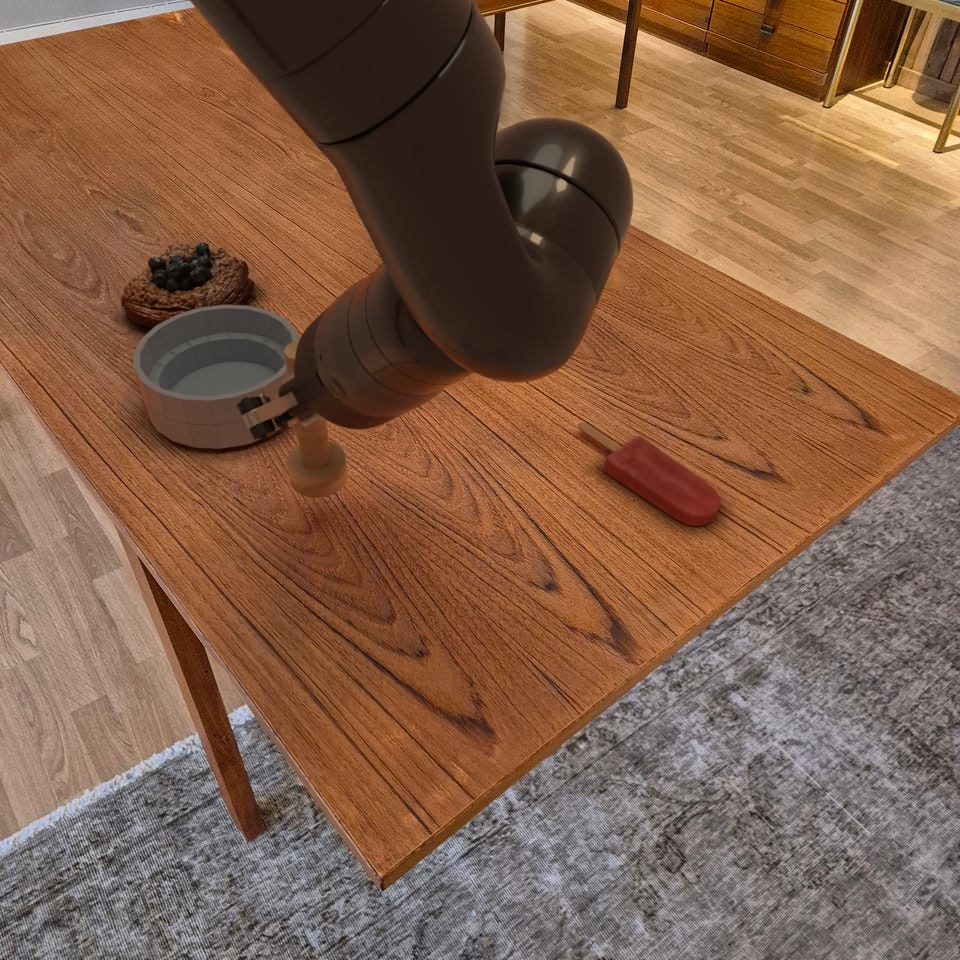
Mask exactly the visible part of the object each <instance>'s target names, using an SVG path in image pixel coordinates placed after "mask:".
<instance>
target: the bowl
mask: <svg viewBox="0 0 960 960" xmlns="http://www.w3.org/2000/svg"><path fill="white" fill-rule="evenodd" d="M295 341H300V339H299V335H298V331H297V330H296V328H294V326H292V324H291V323H290V322H289V321H288V320H287V318H284V317H283V316H280V315H279V314H277V313H275V312H274V311H271V310H268V309H264V308H260V307H256V306H252V305H247V306H245V305H217V306H209V307H202V308H197V309H194V310H191V311H187V312H184V313H181V314H177V315H175V316H173V317H171V318H169V319H168V320H166V321H164V322H162V323H160V324H158V325H157V326H155V327H154V328H153V329H152V330H151V331H149V332H148V333H147V332H146V334H145V335H144V336H142V337H141V339H140V340H139V342H138V344H137V346H136V348H135V350H134V351H133V354H132V355H133V356H132V357H133V358H132V363H133V364H132V368H133V372H134V375H135V379H136V382H137V385H138V388H139V391H140V395H141V398H142V402H143V405H144V408H145V411H146V415H147V418H148V419H149V421H150V422H151V424H152V426H153V427H154V429H155V431H157V432H158V433H160V434H161V435H163V436H164V437H165V438H167V439H169V440H170V441H171V442H174V443H177V444H180V445H184V446H188V447H191V448H196V449H215V450H216V449H217V450H220V449H229V448H234V447H241V446H246V445H250V444H252V443H255V442H258V441H260V439H256V440H254V439H253V437H252V435H251V433H250V431H249V429H248V427H247V425H246V423H245V421H244V419H243V417H242V415H241V413H240V411H239V409H238V407H237V404H238V403H240V402H241V399H243V398H245V397H248V398H251V397H254V396H259V395H261V394H265V396H266V397H270V399H271V401H273V400H275V398H274V395H276V394H277V393H278V391H279V388H280V387H281V385H282V381H283V380H284V379H285V378H287V377H288V374H287V368H286V362H285V355H284V349H285V347H286V346H287V345H288V344H290V343H292V342H295Z"/></svg>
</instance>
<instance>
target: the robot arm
mask: <svg viewBox="0 0 960 960" xmlns="http://www.w3.org/2000/svg"><path fill="white" fill-rule="evenodd" d="M189 2H190V3H191V4H192V5H193V7H194V8H195V9H196V10H197V12H198V13H199V14H200V16H202V17H203V18H204V20H205V21H206V22H207V23H208V25H209V26H210V27H211V29H212V30H213V31H214V32H215V34H217V36H218V37H219V38H220V39H221V40H222V41H223V43H224V44H225V45H226V46H227V47H228V49H229V50H230V51H231V52H232V53H233V54H234V55H235V57H236V58H237V59H238V60H239V61H240V63H242V65H243V66H244V67H245V68H246V69H247V70H248V72H249V73H250V74H251V75H252V76H253V77H254V79H256V81H258V83H259V84H260V85H261V86H262V88H264V90H265V91H266V92H267V93H269V95H270V96H271V97H272V99H274V101H275V102H276V103H277V104H278V105H279V106H280V107H281V109H283V111H284V112H285V113H286V114H287V115H288V116H289V117H290V118H291V120H292V121H293V122H294V123H295V124H296V125H297V126H298V127H299V129H300V130H301V132H303V133H304V134H305V136H307V138H309V139H310V141H311V142H312V143H313V144H314V145H315V146H316V147H317V149H318V150H319V151H320V152H321V153H322V154H323V156H324V157H326V158H327V159H328V161H329V162H330V163H331V164H332V165H333V167H334V168H335V170H336V172H337V173H338V175H339V178H340V180H341V181H342V183H343V185H344V187H345V189H346V191H347V193H348V196H349V198H350V201H351V202H352V205H353V206H354V208H355V211H356V213H357V216H358V217H359V218H360V221H361V222H362V224H363V226H364V228H365V230H366V232H367V233H368V236H369V237H370V239H371V241H372V243H373V245H374V247H375V249H376V251H377V253H378V255H379V257H380V260H382V263H381V264H379V265H378V267H376V268H375V269H374V270H373V271H372V272H371V273H370V274H369V275H367V276H366V277H363V278H361V279H360V280H358V281H357V282H355V283H353V284H352V285H350V286H349V287H348V288H347V289H346V290H345V291H343V292H342V293H341V294H340V295H339V296H338V297H337V298H336V299H335V300H334V301H333V302H332V303H331V304H330V305H328V307H326V308H325V309H324V311H322V313H320V314H319V315H318V316H317V317H316V318H315V319H314V320H313V321H312V322H311V323H310V324H309V325H308V326H307V328H305V330H304V331H303V333H302V335H301V336H300V339H299V343H298V346H297V350H296V355H295V369H294V373H292V374H291V375H289V376H288V377H287V378H285V379H284V380H283V381H282V385H281V387H280V388H279V391H278V393H277V394H276V395H274V398H275V400H273V401H271V399H270V397H266V396H265V394H261V395H259V396H254V397H251V398H248V397H245V398H243V399H241V402H240V403H238V404H237V407H238V409H239V411H240V413H241V415H242V417H243V419H244V421H245V423H246V425H247V427H248V429H249V431H250V433H251V435H252V437H253V439H254V440H256V439H260V440H263V439H266V438H270V437H272V436H274V437H277V436H279V435H281V434H282V433H283V432H286V431H288V430H291V429H292V428H295V429H296V427H298V426H300V425H302V426H303V427H307V426H309V425H311V424H314V423H316V422H318V421H320V420H321V421H325V420H326V421H328V422H330V423H332V424H333V425H336V426H339V427H341V428H345V429H346V428H347V429H350V430H369V429H373V428H377V427H380V426H382V425H385V424H386V423H388V422H391V421H393V420H395V419H396V418H399V417H400V416H403V415H405V414H406V413H409V412H411V411H413V410H415V409H417V408H419V407H421V406H423V405H425V404H427V403H428V402H431V400H433V399H434V398H436V397H437V396H438V395H440V393H442V392H443V391H444V390H445V389H447V388H448V387H451V386H452V385H454V384H457V383H458V382H461V381H463V380H465V379H467V378H469V377H471V376H472V375H474V374H475V375H478V376H480V377H482V378H486V379H488V380H491V381H496V382H502V383H510V384H521V383H522V384H523V383H528V382H535V381H538V380H542V379H544V378H547V377H548V376H550V375H553V374H554V373H555V372H557V371H559V370H560V369H561V368H562V367H564V366H565V365H566V364H567V363H568V361H570V359H571V358H572V357H573V355H574V354H575V352H576V351H577V350H578V348H579V346H580V344H581V343H582V341H583V339H584V337H585V334H586V333H587V330H588V327H589V325H590V323H591V320H592V318H593V316H594V314H595V311H596V308H597V306H598V304H599V301H600V299H601V296H602V294H603V292H604V289H605V287H606V285H607V282H608V279H609V277H610V275H611V272H612V270H613V267H614V265H615V262H616V260H617V259H618V256H619V254H620V252H621V249H622V247H623V246H624V243H625V240H626V238H627V234H628V232H629V230H630V227H631V222H632V217H633V212H634V188H633V181H632V178H631V174H630V172H629V170H628V167H627V165H626V162H625V161H624V159H623V157H622V155H621V154H620V152H619V150H618V149H617V148H616V146H615V145H613V143H612V142H611V141H609V139H607V138H606V137H605V136H604V135H603V134H601V133H600V132H598V131H597V130H595V129H593V128H591V127H590V126H588V125H585V124H583V123H581V122H578V121H574V120H571V119H567V118H563V117H562V118H561V117H536V118H529V119H525V120H521V121H518V122H515V123H513V124H511V125H509V126H506V127H503V128H501V129H500V130H499V131H498V127H499V121H500V117H501V111H502V106H503V100H504V94H505V89H506V78H507V77H506V75H507V74H506V66H505V60H504V56H503V53H502V50H501V47H500V45H499V43H498V40H497V39H496V37H495V35H494V33H493V31H492V29H491V28H490V26H489V24H488V22H487V21H486V19H485V16H483V14H482V11H480V9H479V7H478V6H477V4H476V2H475V1H474V0H189ZM260 440H259V441H260Z"/></svg>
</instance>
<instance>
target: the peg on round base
mask: <svg viewBox="0 0 960 960" xmlns="http://www.w3.org/2000/svg"><path fill="white" fill-rule="evenodd" d="M299 341H300V340H299ZM299 341H295V342H292V343H290V344H288V345H287V346H286V347H285V349H284V355H285V362H286V368H287V374H288V376H289V375H291V374H292V373H294V369H295V355H296V350H297V346H298V343H299ZM295 429H296V436H297V441H298V445H296V446H294V448H293V449H292V450H290V452H289V453H288V455H287V458H286V467H287V473H288V478H289V483H290V486H291V488H292V489H293V490H294V491H295V492H296V493H297V494H299V495H301V496H304V497H307V498H314V499H316V498H317V499H319V498H325V497H329V496H332V495H334V494H336V493H337V492H339V491H341V490H342V488H343V487H344V486H345V485H346V483H347V481H348V477H349V473H348V465H347V457H346V456H347V455H346V453H345V451H344V449H343V448H342V447H341V446H340V445H339V444H337V443H336V442H333V441H330V439H329V432H328V425H327V420H325V421H321V420H320V421H318V422H316V423H314V424H311V425H309V426H307V427H303V426H302V425H300V426H298V427H296V428H295Z"/></svg>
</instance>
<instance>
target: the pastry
mask: <svg viewBox="0 0 960 960" xmlns="http://www.w3.org/2000/svg"><path fill="white" fill-rule="evenodd" d="M147 265H148V266H147V267H146V268H145V269H144V270H143V271H142V272H141V273H140V274H137V275H135V276H134V278H132V279H131V280H129V281H128V284H127V285H125V286H124V287H123V293H122V295H121V298H120V302H121V307H123V309H124V310H125V311H126V312H125V315H126V318H127V319H128V320H129V322H131V324H133V326H135V327H136V328H137V329H139V330H141V331H142V332H145V333H146V334H147V333H148V332H149V331H151V330H152V329H153V328H154V327H155V326H157V325H158V324H160V323H162V322H164V321H166V320H168V319H169V318H171V317H173V316H175V315H177V314H181V313H184V312H187V311H191V310H194V309H197V308H202V307H209V306H217V305H245V306H249V303H251V302H252V301H253V299H254V298H255V296H256V295H257V294H256V291H255V287H256V284H255V281H254V280H253V279H251V278H249V274H250V271H249V269H250V268H249V266H248V263H247V261H246V260H242V259H238V258H237V256H232V255H230V254H229V252H227V251H226V250H225V249H224V248H223V247H218V249H212V250H211V249H210V245H209V243H207V242H200V243H198V244H195V245H194V246H193V245H191V244H189V243H180V242H178V243H176V244H175V243H174V244H170V245H168V246H167V248H166V250H165V251H164V252H163V253H162V254H160V256H155V255H154V256H153V257H150V258H149V259H148V260H147Z"/></svg>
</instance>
